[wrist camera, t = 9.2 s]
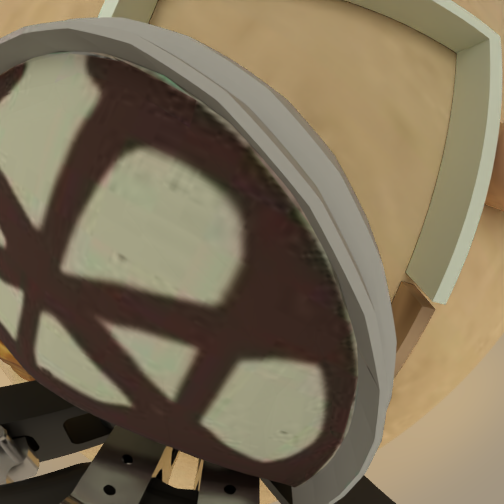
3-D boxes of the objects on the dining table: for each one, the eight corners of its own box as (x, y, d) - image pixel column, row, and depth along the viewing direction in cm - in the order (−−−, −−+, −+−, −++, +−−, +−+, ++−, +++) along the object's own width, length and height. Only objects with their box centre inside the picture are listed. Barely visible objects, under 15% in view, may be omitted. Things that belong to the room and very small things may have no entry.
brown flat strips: (94, 202, 12) (63, 213, 10) (413, 284, 12) (435, 309, 10) (99, 360, 16) (82, 383, 14) (332, 421, 16) (336, 450, 14)
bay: (158, -28, 8) (136, -55, 5) (468, 49, 8) (500, 36, 5) (95, 193, 12) (57, 204, 9) (417, 275, 12) (445, 305, 9)
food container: (375, 189, 11) (580, 282, 1) (304, 305, 13) (319, 524, 3) (132, 74, 10) (-46, 15, 1) (86, 188, 12) (-88, 243, 3)
